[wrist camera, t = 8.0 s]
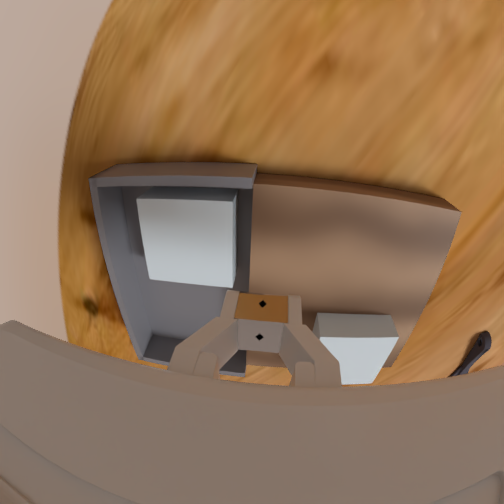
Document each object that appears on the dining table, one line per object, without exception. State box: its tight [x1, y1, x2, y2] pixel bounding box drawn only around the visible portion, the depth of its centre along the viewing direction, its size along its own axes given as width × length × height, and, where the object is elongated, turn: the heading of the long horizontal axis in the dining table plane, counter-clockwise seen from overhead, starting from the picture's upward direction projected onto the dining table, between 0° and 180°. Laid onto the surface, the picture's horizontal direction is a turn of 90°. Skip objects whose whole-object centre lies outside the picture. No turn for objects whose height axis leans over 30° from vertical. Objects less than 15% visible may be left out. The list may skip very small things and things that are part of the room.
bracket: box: [450, 332, 491, 377], centre depth 26 cm, size 14×15×3 cm
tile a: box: [136, 187, 239, 288], centre depth 18 cm, size 6×6×2 cm
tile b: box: [312, 313, 399, 384], centre depth 19 cm, size 6×6×2 cm
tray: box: [89, 162, 257, 377], centre depth 20 cm, size 17×10×4 cm, turn 178°
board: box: [246, 173, 461, 368], centre depth 20 cm, size 16×14×2 cm
